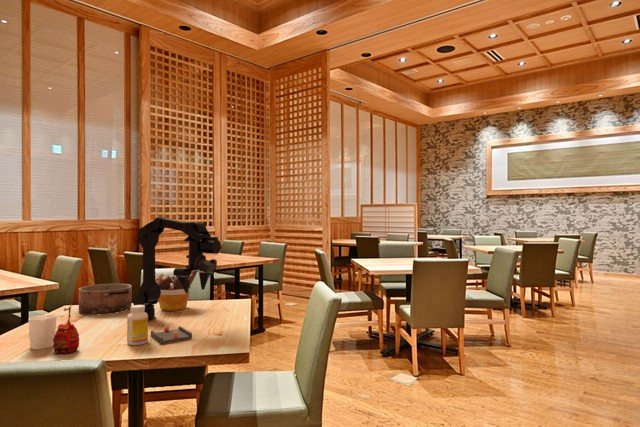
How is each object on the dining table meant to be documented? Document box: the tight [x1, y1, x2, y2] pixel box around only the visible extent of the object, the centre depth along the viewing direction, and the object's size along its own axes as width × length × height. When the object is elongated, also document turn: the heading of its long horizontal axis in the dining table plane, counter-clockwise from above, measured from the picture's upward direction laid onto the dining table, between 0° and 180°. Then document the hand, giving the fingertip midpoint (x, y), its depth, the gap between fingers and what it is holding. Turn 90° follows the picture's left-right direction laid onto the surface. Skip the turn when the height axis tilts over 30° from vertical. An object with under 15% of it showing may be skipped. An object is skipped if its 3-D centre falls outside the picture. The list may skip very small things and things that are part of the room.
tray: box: [150, 325, 193, 345], centre depth 152 cm, size 12×11×3 cm
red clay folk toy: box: [52, 303, 80, 355], centre depth 136 cm, size 8×7×15 cm
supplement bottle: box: [126, 304, 149, 346], centre depth 146 cm, size 7×7×13 cm
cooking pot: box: [78, 283, 133, 316], centre depth 198 cm, size 30×22×11 cm
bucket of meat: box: [155, 272, 198, 312], centre depth 201 cm, size 20×16×20 cm
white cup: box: [28, 313, 57, 351], centre depth 141 cm, size 8×8×10 cm
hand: (195, 291), depth 169 cm, fingers open, 9 cm apart
